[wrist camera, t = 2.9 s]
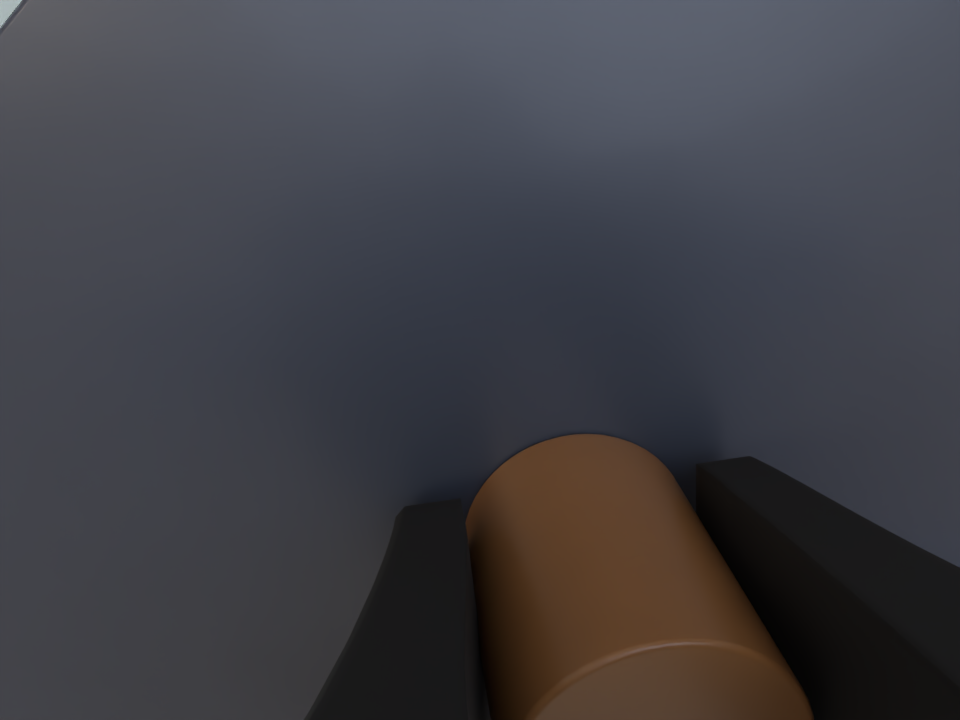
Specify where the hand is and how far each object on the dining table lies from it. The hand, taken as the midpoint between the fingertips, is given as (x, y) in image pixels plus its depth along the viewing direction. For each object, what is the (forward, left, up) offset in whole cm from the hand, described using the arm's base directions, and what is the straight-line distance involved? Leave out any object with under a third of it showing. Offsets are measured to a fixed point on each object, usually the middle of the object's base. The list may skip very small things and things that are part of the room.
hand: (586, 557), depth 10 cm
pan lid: (0, 0, -1) cm, 1 cm away
